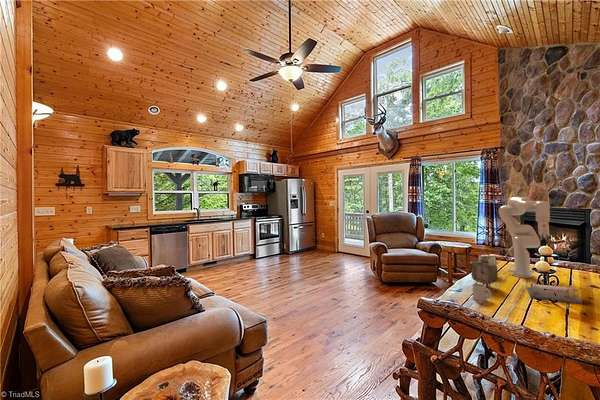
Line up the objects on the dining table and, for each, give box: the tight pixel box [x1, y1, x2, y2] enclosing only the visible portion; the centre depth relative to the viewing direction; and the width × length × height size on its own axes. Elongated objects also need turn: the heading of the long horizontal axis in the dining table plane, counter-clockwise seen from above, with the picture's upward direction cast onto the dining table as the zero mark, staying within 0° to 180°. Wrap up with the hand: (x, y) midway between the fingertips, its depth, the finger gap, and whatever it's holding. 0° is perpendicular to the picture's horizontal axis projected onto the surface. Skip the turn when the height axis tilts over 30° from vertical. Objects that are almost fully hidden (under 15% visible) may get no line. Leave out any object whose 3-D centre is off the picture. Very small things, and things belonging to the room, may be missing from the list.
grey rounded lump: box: [472, 283, 492, 302], centre depth 182 cm, size 7×10×9 cm
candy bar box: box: [478, 254, 497, 265], centre depth 231 cm, size 11×5×16 cm, turn 80°
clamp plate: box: [526, 282, 583, 305], centre depth 182 cm, size 24×16×7 cm, turn 57°
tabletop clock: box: [470, 251, 499, 290], centre depth 205 cm, size 14×9×25 cm, turn 23°
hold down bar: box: [532, 283, 579, 293], centre depth 182 cm, size 21×4×2 cm, turn 57°
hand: (543, 245), depth 200 cm, fingers closed
